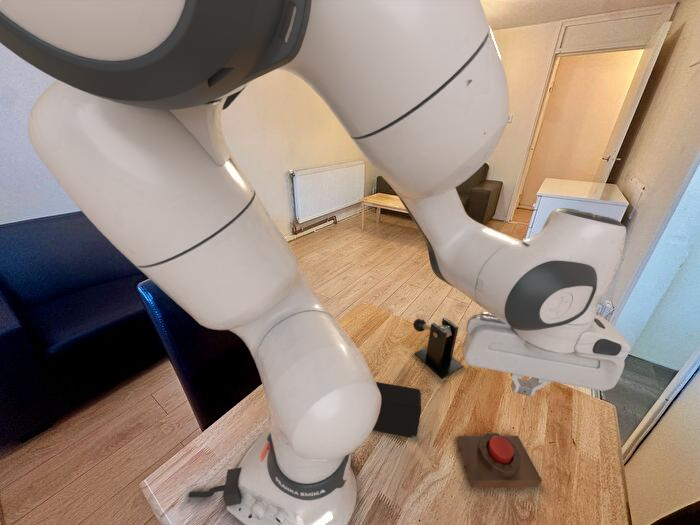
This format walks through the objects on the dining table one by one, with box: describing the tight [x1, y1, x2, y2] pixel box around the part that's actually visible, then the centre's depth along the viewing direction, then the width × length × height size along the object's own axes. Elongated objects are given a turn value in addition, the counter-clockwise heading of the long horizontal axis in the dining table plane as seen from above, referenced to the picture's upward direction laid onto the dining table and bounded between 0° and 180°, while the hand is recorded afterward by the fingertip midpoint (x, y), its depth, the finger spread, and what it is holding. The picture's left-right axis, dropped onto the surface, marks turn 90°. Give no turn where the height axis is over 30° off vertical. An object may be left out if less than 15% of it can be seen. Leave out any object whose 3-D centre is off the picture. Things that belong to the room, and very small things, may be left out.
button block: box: [457, 432, 543, 489], centre depth 53 cm, size 12×8×4 cm, turn 90°
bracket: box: [414, 317, 464, 380], centre depth 74 cm, size 10×8×13 cm
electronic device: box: [372, 381, 422, 439], centre depth 59 cm, size 4×10×10 cm, turn 78°
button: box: [488, 436, 514, 464], centre depth 52 cm, size 4×4×2 cm
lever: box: [412, 318, 452, 338], centre depth 76 cm, size 12×4×4 cm, turn 30°
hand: (521, 391), depth 46 cm, fingers closed
